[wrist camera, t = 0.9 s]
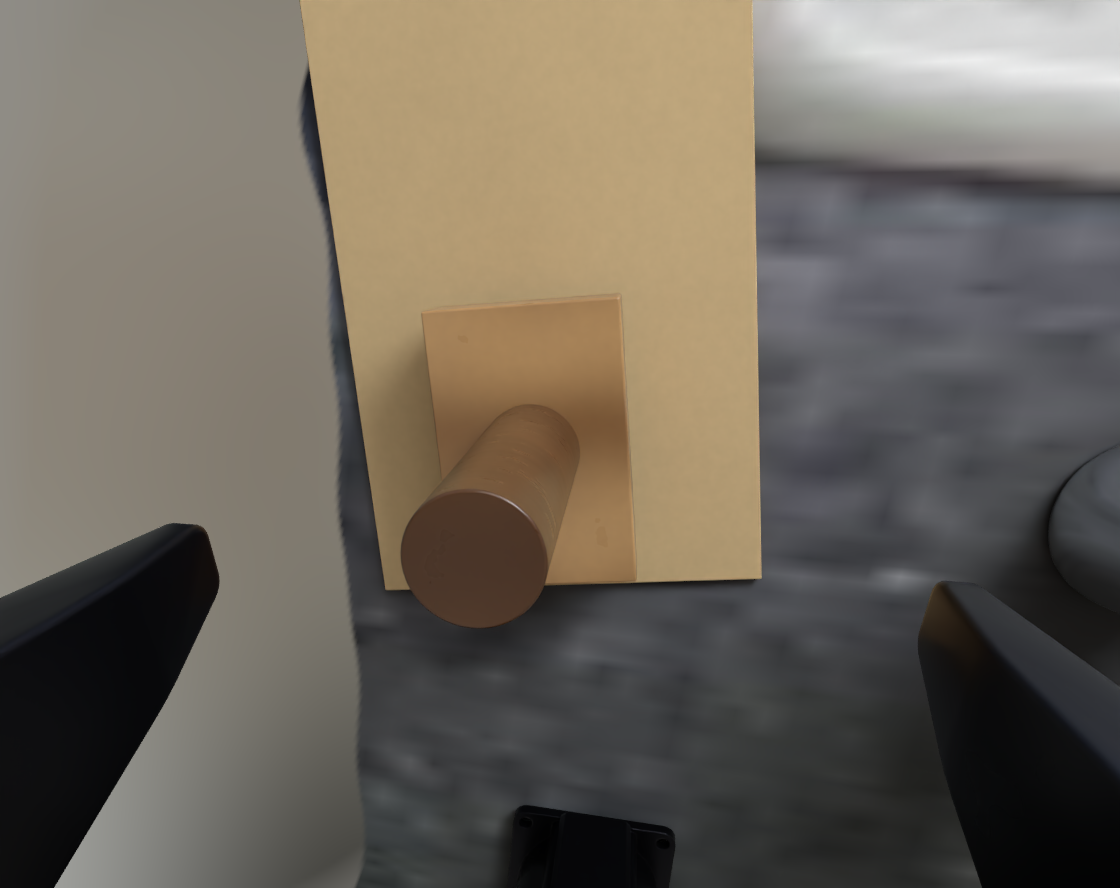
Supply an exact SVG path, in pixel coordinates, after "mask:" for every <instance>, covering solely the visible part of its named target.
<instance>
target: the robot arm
mask: <svg viewBox="0 0 1120 888" xmlns="http://www.w3.org/2000/svg"><path fill="white" fill-rule="evenodd" d="M218 589H219V573H218V569H217V566H216V562H215V559H214V555H213V551H212V548H211V544H210V541H209V537H208V534H207V532H206V531H205V529H204V528H203V527H201V526H199V525H193V524H180V523H171V524H167V525H164V526H162V527H160V528H157V529H155V530H153V531H151V532H148V533H146V534H144V535H141V536H139V537H137V538H135V539H132V540H130V541H128V542H126V543H123V544H121V545H119V546H117V547H114V548H112V549H110V550H108V551H105V552H103V553H101V554H98V555H96V556H94V557H92V558H89V559H87V560H85V561H83V562H80V563H78V564H76V565H74V566H71V567H69V568H67V569H65V570H62V571H60V572H58V573H56V574H53V575H51V576H49V577H46V578H44V579H42V580H40V581H37V582H35V583H33V584H31V585H28V586H26V587H24V588H22V589H19V590H17V591H15V592H13V593H10V594H8V595H6V596H3V597H2V598H0V888H54V887H55V885H56V884H57V882H58V880H59V879H60V877H61V875H62V873H63V872H64V870H65V869H66V867H67V865H68V864H69V862H70V860H71V859H72V857H73V855H74V854H75V852H76V850H77V849H78V847H79V845H80V844H81V842H82V840H83V839H84V837H85V835H86V834H87V832H88V830H89V829H90V827H91V825H92V824H93V822H94V820H95V819H96V817H97V815H98V814H99V812H100V810H101V809H102V807H103V805H104V804H105V802H106V800H107V799H108V797H109V795H110V794H111V792H112V790H113V789H114V787H115V785H116V784H117V782H118V780H119V779H120V777H121V776H122V774H123V772H124V770H125V768H126V767H127V766H128V764H129V762H130V761H131V759H132V757H133V756H134V754H135V752H136V751H137V749H138V747H139V746H140V744H141V742H142V741H143V739H144V737H145V735H146V734H147V732H148V731H149V729H150V727H151V725H152V724H153V722H154V721H155V719H156V717H157V716H158V714H159V712H160V710H161V709H162V707H163V705H164V703H165V702H166V700H167V698H168V696H169V694H170V692H171V690H172V688H173V686H174V684H175V682H176V680H177V679H178V676H179V674H180V672H181V670H182V668H183V666H184V664H185V661H186V659H187V657H188V655H189V653H190V651H191V649H192V647H193V644H194V642H195V640H196V638H197V636H198V634H199V632H200V630H201V627H202V625H203V623H204V621H205V619H206V617H207V615H208V613H209V610H210V608H211V606H212V604H213V602H214V600H215V598H216V595H217V593H218ZM918 654H919V659H920V664H921V668H922V673H923V678H924V683H925V687H926V692H927V697H928V701H929V706H930V711H931V715H932V720H933V725H934V729H935V734H936V739H937V743H938V748H939V753H940V757H941V761H942V765H943V770H944V774H945V777H946V781H947V784H948V787H949V790H950V794H951V797H952V800H953V803H954V806H955V809H956V812H957V815H958V817H959V820H960V823H961V826H962V829H963V832H964V835H965V838H966V841H967V844H968V847H969V850H970V853H971V856H972V859H973V862H974V865H975V868H976V871H977V874H978V877H979V880H980V883H981V885H982V888H1120V686H1118V685H1117V684H1116V683H1114V682H1113V681H1111V680H1110V679H1109V678H1107V677H1106V676H1105V675H1103V674H1102V673H1100V672H1099V671H1098V670H1096V669H1095V668H1093V667H1092V666H1091V665H1089V664H1088V663H1086V662H1085V661H1084V660H1082V659H1081V658H1079V657H1078V656H1077V655H1075V654H1074V653H1072V652H1071V651H1070V650H1068V649H1067V648H1065V647H1064V646H1063V645H1061V644H1060V643H1059V642H1057V641H1056V640H1054V639H1053V638H1052V637H1050V636H1049V635H1047V634H1046V633H1045V632H1043V631H1042V630H1040V629H1039V628H1038V627H1036V626H1035V625H1033V624H1032V623H1031V622H1029V621H1028V620H1026V619H1025V618H1024V617H1022V616H1021V615H1019V614H1018V613H1017V612H1015V611H1014V610H1012V609H1011V608H1010V607H1008V606H1007V605H1006V604H1004V603H1003V602H1001V601H1000V600H999V599H997V598H996V597H994V596H993V595H992V594H990V593H989V592H987V591H986V590H985V589H983V588H982V587H980V586H979V585H977V584H974V583H965V582H952V581H941V582H939V583H937V584H936V585H935V587H934V588H933V590H932V593H931V596H930V599H929V602H928V606H927V609H926V612H925V615H924V618H923V622H922V625H921V628H920V631H919V636H918ZM522 818H529V819H530V821H526V820H523V819H522ZM659 839H665V840H667V841H665V842H660V841H658V840H659ZM674 851H675V834H674V833H673V831H672V830H671V829H670V828H668V827H665V826H659V825H653V824H646V823H640V822H633V821H627V820H620V819H614V818H607V817H601V816H594V815H588V814H581V813H575V812H568V811H562V810H555V809H549V808H542V807H536V806H529V805H523V806H521V807H519V808H518V809H517V810H516V813H515V817H514V822H513V833H512V843H511V854H510V864H509V875H508V886H507V888H669V882H670V876H671V870H672V863H673V857H674Z"/></svg>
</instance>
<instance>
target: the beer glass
mask: <svg viewBox="0 0 1120 888" xmlns="http://www.w3.org/2000/svg"><path fill="white" fill-rule="evenodd" d="M1048 543H1049V549H1050V553H1051V556H1052V559H1053V562H1054V564H1055V566H1056V568H1057V569H1058V571H1059V573H1060V574H1061V575H1062V577H1063V578H1064V579H1065V580H1066V582H1067V583H1068V584H1069V585H1070V586H1071V587H1072V588H1074V589H1075V590H1076V591H1077V592H1079V593H1080V594H1081V595H1083V596H1084V597H1086V598H1088V599H1089V600H1091V601H1093V602H1095V603H1097V604H1099V605H1101V606H1103V607H1105V608H1107V609H1110V610H1112V611H1114V612H1116V613H1119V614H1120V445H1119V446H1117V447H1114V448H1112V449H1110V450H1108V451H1105V452H1104V453H1102V454H1100V455H1098V456H1097V457H1095V458H1093V459H1092V460H1091V461H1089V462H1088V463H1086V464H1085V465H1084V466H1083V467H1082V468H1080V469H1079V470H1078V471H1077V472H1076V473H1075V474H1074V475H1073V476H1072V477H1071V479H1070V480H1069V481H1068V482H1067V483H1066V485H1065V486H1064V488H1063V489H1062V491H1061V492H1060V494H1059V496H1058V498H1057V500H1056V502H1055V504H1054V506H1053V509H1052V512H1051V516H1050V520H1049V526H1048Z"/></svg>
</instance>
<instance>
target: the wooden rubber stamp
mask: <svg viewBox="0 0 1120 888" xmlns="http://www.w3.org/2000/svg"><path fill="white" fill-rule="evenodd" d="M421 318H422V326H423V335H424V343H425V351H426V359H427V367H428V375H429V384H430V392H431V400H432V408H433V416H434V425H435V433H436V441H437V449H438V457H439V465H440V474H441V483H440V484H439V485H438V486H437V488H436V489H435V490H434V491H433V492H432V493H431V495H430V496H429V497H428V498H427V499H426V500H425V502H424V503H423V504H422V505H421V506H420V507H419V508H418V510H417V511H416V512H415V513H414V515H413V516H412V517H411V519H410V520H409V522H408V524H407V526H406V528H405V531H404V534H403V537H402V542H401V551H400V555H401V565H402V570H403V574H404V576H405V579H406V582H407V584H408V586H409V588H410V590H411V591H412V593H413V594H414V596H415V597H416V598H417V599H418V601H419V602H420V603H421V604H422V605H423V606H424V607H425V608H426V609H427V610H428V611H430V612H431V613H433V614H434V615H435V616H437V617H439V618H441V619H442V620H444V621H447V622H449V623H451V624H454V625H458V626H461V627H467V628H480V629H481V628H491V627H496V626H500V625H503V624H506V623H508V622H510V621H512V620H514V619H516V618H518V617H519V616H521V615H522V614H524V613H525V612H526V611H527V610H528V609H529V608H530V607H531V606H532V605H533V604H534V603H535V601H536V600H537V598H538V597H539V595H540V594H541V592H542V589H543V587H544V585H545V584H570V583H603V582H635V581H636V580H637V549H636V532H635V515H634V497H633V480H632V463H631V446H630V429H629V412H628V395H627V378H626V361H625V344H624V326H623V309H622V295H621V294H620V293H614V294H601V295H587V296H574V297H561V298H548V299H535V300H521V301H508V302H495V303H482V304H469V305H455V306H442V307H437V308H433V309H430V310H426V311H423V312H421Z"/></svg>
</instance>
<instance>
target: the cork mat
mask: <svg viewBox="0 0 1120 888" xmlns="http://www.w3.org/2000/svg"><path fill="white" fill-rule="evenodd" d="M299 1H300V7H301V14H302V22H303V28H304V35H305V41H306V49H307V55H308V63H309V69H310V76H311V83H312V90H313V97H314V104H315V110H316V117H317V124H318V131H319V138H320V145H321V151H322V158H323V165H324V172H325V179H326V186H327V192H328V199H329V206H330V213H331V220H332V227H333V233H334V240H335V247H336V254H337V261H338V268H339V274H340V281H341V288H342V295H343V302H344V309H345V315H346V322H347V329H348V336H349V343H350V350H351V357H352V363H353V370H354V377H355V384H356V391H357V398H358V404H359V411H360V418H361V425H362V432H363V439H364V445H365V452H366V459H367V466H368V473H369V480H370V486H371V493H372V500H373V507H374V514H375V521H376V527H377V534H378V541H379V548H380V555H381V562H382V568H383V575H384V582H385V589H386V590H410V588H409V586H408V584H407V582H406V579H405V576H404V574H403V570H402V565H401V555H400V551H401V542H402V537H403V534H404V531H405V528H406V526H407V524H408V522H409V520H410V519H411V517H412V516H413V515H414V513H415V512H416V511H417V510H418V508H419V507H420V506H421V505H422V504H423V503H424V502H425V500H426V499H427V498H428V497H429V496H430V495H431V493H432V492H433V491H434V490H435V489H436V488H437V486H438V485H439V484H440V483H441V474H440V465H439V457H438V449H437V441H436V433H435V425H434V416H433V408H432V400H431V392H430V384H429V375H428V367H427V359H426V351H425V343H424V335H423V326H422V318H421V312H423V311H426V310H430V309H433V308H437V307H442V306H455V305H469V304H482V303H495V302H508V301H521V300H535V299H548V298H561V297H574V296H587V295H601V294H614V293H620V294H621V295H622V309H623V326H624V344H625V361H626V378H627V395H628V412H629V429H630V446H631V463H632V480H633V497H634V515H635V532H636V549H637V580H636V581H635V582H603V583H570V584H545V585H573V584H605V583H638V582H670V581H703V580H736V579H761V520H760V457H759V394H758V331H757V269H756V206H755V143H754V80H753V18H752V0H299Z"/></svg>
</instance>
